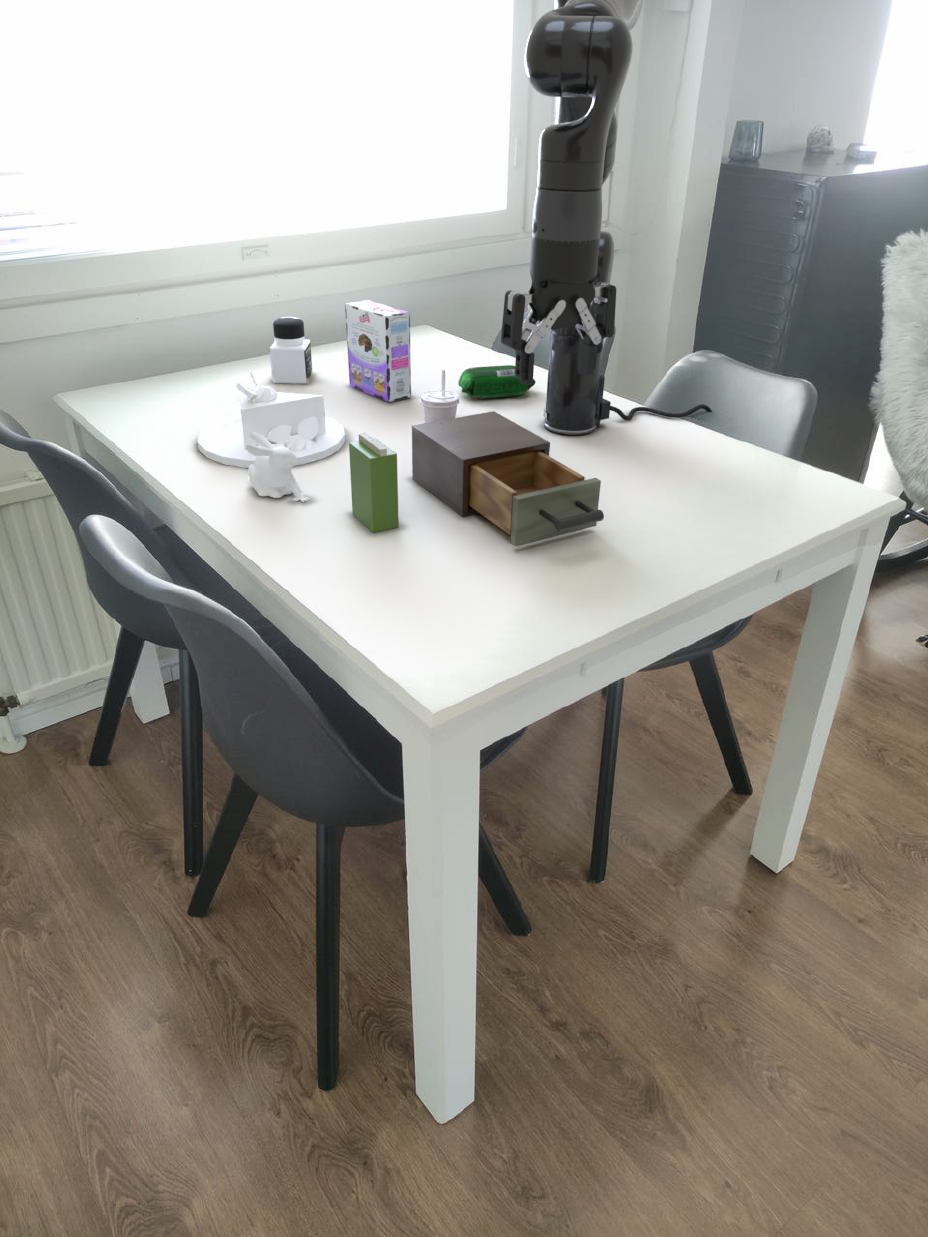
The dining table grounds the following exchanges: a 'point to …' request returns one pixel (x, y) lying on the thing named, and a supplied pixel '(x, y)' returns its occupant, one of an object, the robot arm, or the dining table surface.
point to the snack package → (492, 382)
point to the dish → (273, 427)
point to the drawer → (533, 496)
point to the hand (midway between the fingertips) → (555, 378)
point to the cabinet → (465, 452)
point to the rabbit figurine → (273, 469)
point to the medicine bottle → (290, 352)
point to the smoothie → (439, 404)
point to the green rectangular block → (374, 483)
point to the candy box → (379, 350)
